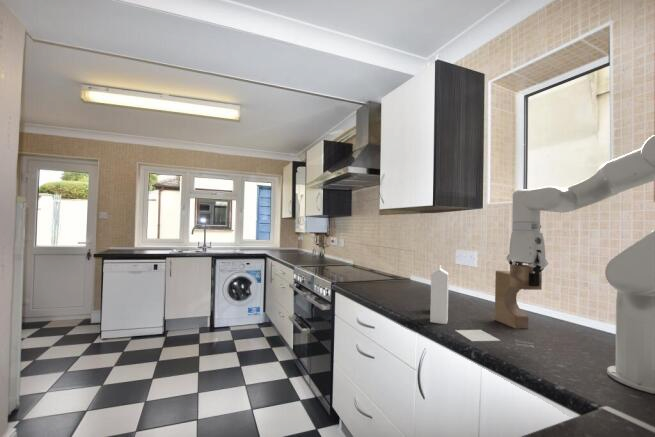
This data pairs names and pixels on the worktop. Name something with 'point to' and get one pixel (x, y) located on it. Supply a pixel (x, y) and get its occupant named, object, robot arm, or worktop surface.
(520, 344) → the tile
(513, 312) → the decorative block
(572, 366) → the worktop surface
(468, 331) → the grey mat
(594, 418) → the worktop surface
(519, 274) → the walnut block
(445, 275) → the milk
